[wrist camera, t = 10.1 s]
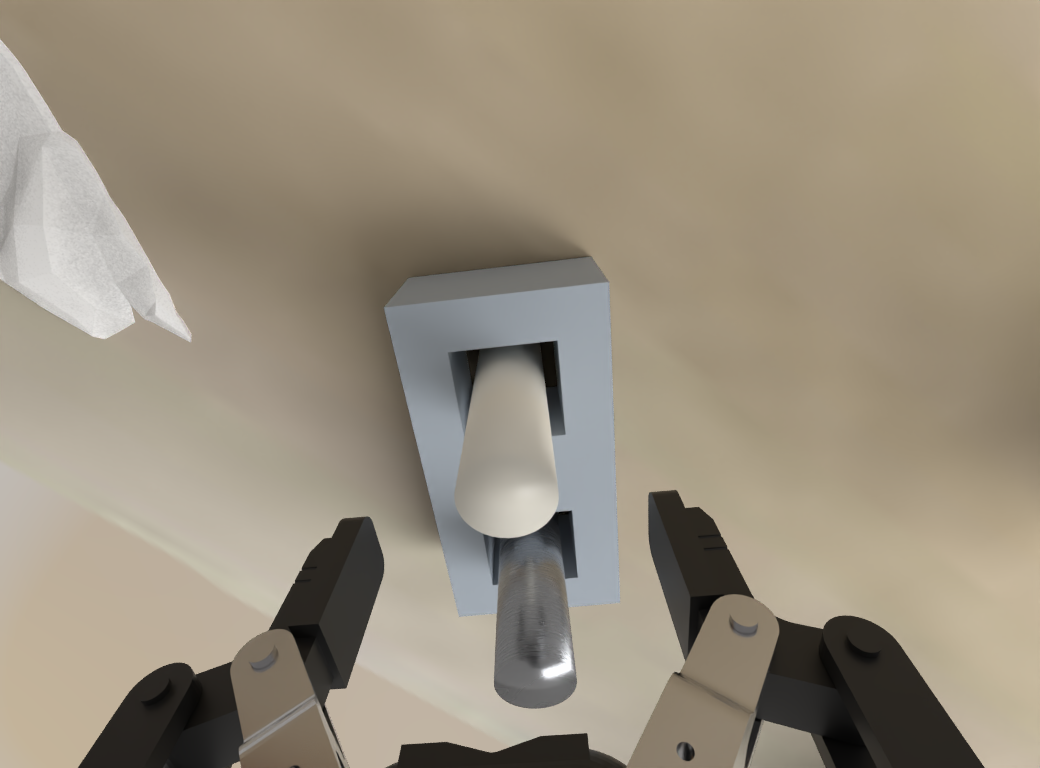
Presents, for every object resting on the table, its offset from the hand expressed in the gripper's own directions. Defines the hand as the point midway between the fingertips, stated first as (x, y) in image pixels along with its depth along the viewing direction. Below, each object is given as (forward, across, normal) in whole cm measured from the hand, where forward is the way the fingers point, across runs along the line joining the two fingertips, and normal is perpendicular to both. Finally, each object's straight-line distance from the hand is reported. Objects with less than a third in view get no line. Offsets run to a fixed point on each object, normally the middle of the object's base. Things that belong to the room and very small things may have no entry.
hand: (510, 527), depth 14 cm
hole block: (+13, 0, +4) cm, 14 cm away
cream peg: (+13, 0, 0) cm, 13 cm away
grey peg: (+13, 0, +9) cm, 16 cm away
